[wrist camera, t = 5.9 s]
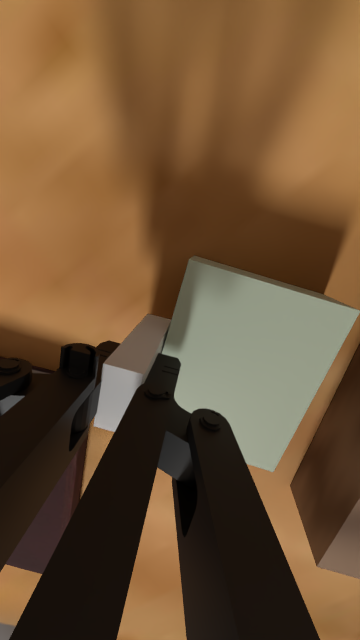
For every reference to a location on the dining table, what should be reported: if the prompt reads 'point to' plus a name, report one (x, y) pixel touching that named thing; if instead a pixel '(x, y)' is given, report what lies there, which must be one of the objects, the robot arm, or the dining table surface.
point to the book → (50, 514)
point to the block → (253, 352)
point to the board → (334, 481)
